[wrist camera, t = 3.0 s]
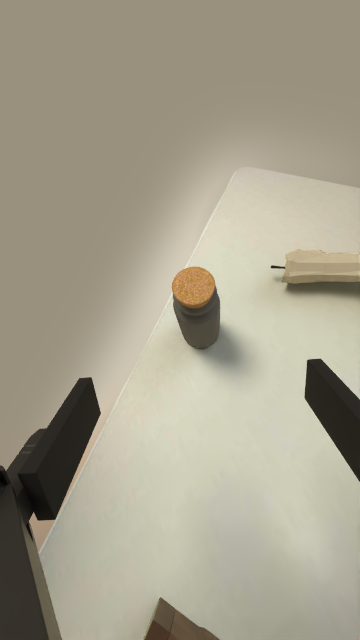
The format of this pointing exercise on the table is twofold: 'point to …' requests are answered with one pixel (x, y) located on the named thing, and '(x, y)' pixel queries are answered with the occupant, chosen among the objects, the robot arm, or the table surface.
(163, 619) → the socket plate
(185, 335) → the bottle
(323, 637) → the table surface
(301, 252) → the faceted club
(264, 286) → the table surface
